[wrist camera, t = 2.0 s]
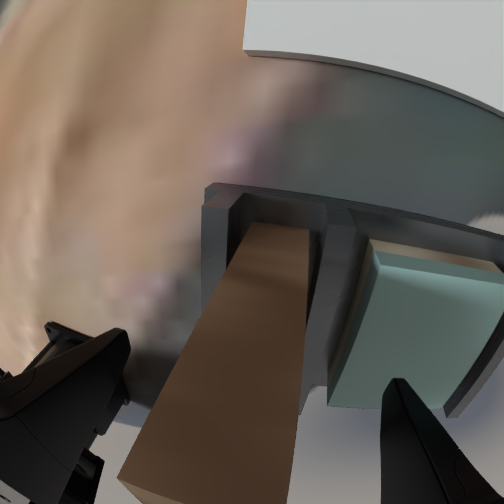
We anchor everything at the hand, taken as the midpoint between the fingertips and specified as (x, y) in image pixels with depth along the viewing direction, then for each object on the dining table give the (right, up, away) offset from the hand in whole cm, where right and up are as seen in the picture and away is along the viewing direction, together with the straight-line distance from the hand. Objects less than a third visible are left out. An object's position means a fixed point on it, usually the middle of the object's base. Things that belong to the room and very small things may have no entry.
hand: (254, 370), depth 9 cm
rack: (+5, +1, +3) cm, 6 cm away
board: (+7, +15, -3) cm, 17 cm away
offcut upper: (+7, 0, +1) cm, 7 cm away
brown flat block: (+1, +1, +3) cm, 4 cm away
